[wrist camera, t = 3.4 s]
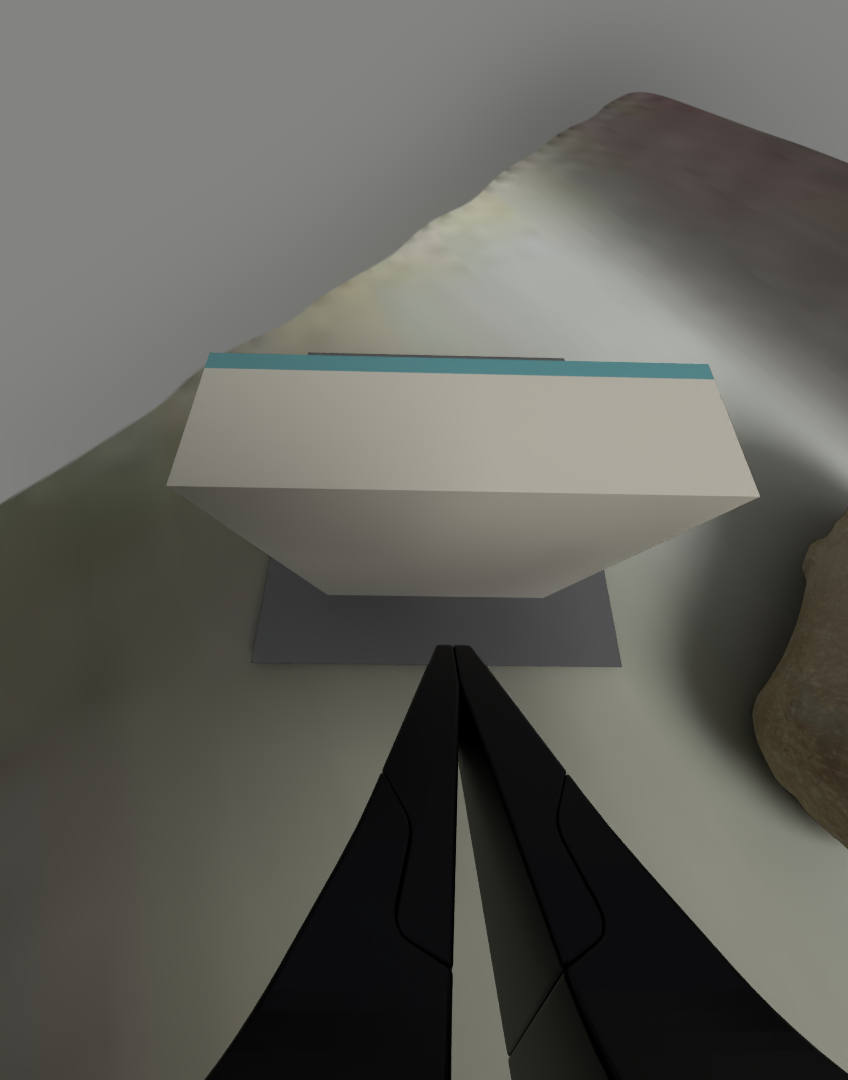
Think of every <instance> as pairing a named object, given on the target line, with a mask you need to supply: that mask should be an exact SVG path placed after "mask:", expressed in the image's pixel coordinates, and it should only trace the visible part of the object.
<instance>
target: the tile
mask: <svg viewBox="0 0 848 1080" xmlns="http://www.w3.org/2000/svg"><path fill="white" fill-rule="evenodd" d="M166 486H167V487H168V488H170V489H171V490H173V491H174V492H176V493H177V494H179V495H180V496H182V497H183V498H185V499H186V500H188V501H189V502H191V503H192V504H194V505H195V506H196V507H198V508H199V509H201V510H202V511H204V512H205V513H207V514H208V515H210V516H211V517H213V518H214V519H216V520H217V521H219V522H220V523H222V524H223V525H225V526H226V527H228V528H229V529H231V530H232V531H234V532H235V533H236V534H238V535H239V536H241V537H242V538H244V539H245V540H247V541H248V542H250V543H251V544H253V545H254V546H256V547H257V548H259V549H260V550H262V551H263V552H265V553H266V554H268V555H269V556H271V557H272V558H273V559H275V560H276V561H278V562H279V563H281V564H282V565H284V566H285V567H287V568H288V569H290V570H291V571H293V572H294V573H296V574H297V575H299V576H300V577H302V578H303V579H305V580H306V581H308V582H309V583H311V584H312V585H313V586H315V587H316V588H318V589H319V590H321V591H322V592H324V593H325V594H327V595H370V596H441V597H511V598H544V597H546V596H549V595H551V594H553V593H555V592H557V591H559V590H561V589H564V588H566V587H568V586H570V585H572V584H574V583H576V582H579V581H581V580H583V579H585V578H587V577H589V576H591V575H594V574H596V573H598V572H600V571H602V570H604V569H606V568H609V567H611V566H613V565H615V564H617V563H619V562H621V561H624V560H626V559H628V558H630V557H632V556H634V555H636V554H639V553H641V552H643V551H645V550H647V549H649V548H651V547H654V546H656V545H658V544H660V543H662V542H664V541H666V540H669V539H671V538H673V537H675V536H677V535H679V534H681V533H684V532H686V531H688V530H690V529H692V528H694V527H696V526H699V525H701V524H703V523H705V522H707V521H709V520H711V519H714V518H716V517H718V516H720V515H722V514H724V513H726V512H729V511H731V510H733V509H735V508H737V507H739V506H741V505H744V504H746V503H748V502H750V501H752V500H754V499H756V498H759V497H760V495H759V492H758V490H757V487H756V485H755V482H754V480H753V477H752V475H751V472H750V469H749V467H748V464H747V462H746V459H745V457H744V454H743V452H742V449H741V447H740V444H739V441H738V439H737V436H736V434H735V431H734V429H733V426H732V424H731V421H730V419H729V416H728V413H727V411H726V408H725V406H724V403H723V401H722V398H721V396H720V393H719V391H718V388H717V385H716V383H715V380H714V378H713V375H712V373H711V370H710V368H709V365H708V364H676V363H632V362H589V361H545V360H502V359H459V358H415V357H372V356H328V355H285V354H242V353H210V354H209V356H208V360H207V363H206V366H205V369H204V372H203V375H202V378H201V381H200V384H199V387H198V390H197V393H196V396H195V399H194V402H193V405H192V408H191V411H190V414H189V417H188V421H187V424H186V427H185V430H184V433H183V436H182V439H181V442H180V445H179V448H178V451H177V454H176V457H175V460H174V463H173V466H172V469H171V472H170V475H169V479H168V482H167V485H166Z"/></svg>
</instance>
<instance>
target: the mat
mask: <svg viewBox="0 0 848 1080" xmlns="http://www.w3.org/2000/svg"><path fill="white" fill-rule="evenodd" d="M308 355H328V356H372V357H415V358H459V359H502V360H545V361H564V359H562V358H519V357H476V356H432V355H389V354H346V353H308ZM438 644H451V645H452V646H453V647H454V645H470V646H471V647H472V648H473V649H474V651H475V652H476V653H477V655H478V656H479V657H480V659H481V660H482V661H483V662H484V664H485V665H486V666H568V667H622V665H621V659H620V654H619V649H618V643H617V638H616V633H615V627H614V622H613V617H612V611H611V606H610V601H609V595H608V590H607V585H606V579H605V574H604V570H602V571H600V572H598V573H596V574H594V575H591V576H589V577H587V578H585V579H583V580H581V581H579V582H576V583H574V584H572V585H570V586H568V587H566V588H564V589H561V590H559V591H557V592H555V593H553V594H551V595H549V596H546V597H544V598H511V597H441V596H370V595H327V594H325V593H324V592H322V591H321V590H319V589H318V588H316V587H315V586H313V585H312V584H311V583H309V582H308V581H306V580H305V579H303V578H302V577H300V576H299V575H297V574H296V573H294V572H293V571H291V570H290V569H288V568H287V567H285V566H284V565H282V564H281V563H279V562H278V561H276V560H275V559H273V558H272V557H270V562H269V568H268V573H267V579H266V584H265V589H264V595H263V600H262V606H261V611H260V617H259V622H258V627H257V633H256V638H255V644H254V649H253V655H252V660H251V663H311V664H397V665H428V663H429V661H430V659H431V656H432V654H433V652H434V649H435V647H436V646H437V645H438Z"/></svg>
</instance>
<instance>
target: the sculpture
mask: <svg viewBox="0 0 848 1080" xmlns="http://www.w3.org/2000/svg"><path fill="white" fill-rule="evenodd" d="M802 571H803V573H804V576H805V577H806V581H807V584H806V588H805V592H804V597H803V601H802V606H801V610H800V614H799V617H798V620H797V623H796V626H795V629H794V631H793V634H792V636H791V638H790V641H789V644H788V646H787V648H786V651H785V653H784V655H783V657H782V659H781V661H780V662H779V664H778V666H777V667H776V669H775V670H774V672H773V674H772V675H771V677H770V678H769V680H768V682H767V683H766V684H765V686H764V687H763V688H762V690H761V691H760V693H759V694H758V695H757V698H756V701H755V704H754V708H753V711H752V716H753V724H754V730H755V734H756V738H757V742H758V744H759V747H760V749H761V751H762V753H763V755H764V757H765V759H766V761H767V763H768V765H769V767H770V769H771V771H772V773H773V774H774V776H775V778H776V779H777V781H778V782H779V784H781V785H782V786H783V787H784V788H785V789H786V790H787V791H789V792H790V793H791V794H792V795H794V796H795V797H796V798H797V799H798V801H799V802H800V804H801V805H802V807H803V808H804V809H805V811H806V812H807V813H808V814H809V815H810V816H812V817H813V818H814V819H815V820H816V821H817V822H819V823H820V824H821V826H822V827H823V828H825V829H826V830H827V831H828V832H829V833H830V834H831V835H832V836H833V837H834V838H836V839H837V840H838V841H840V842H841V843H842V844H843V845H844V846H845V847H846V848H847V849H848V509H847V511H846V512H845V514H844V516H842V517H841V518H840V519H839V520H838V521H837V522H836V523H835V525H834V527H833V528H832V530H831V531H830V533H829V534H828V535H827V536H826V537H825V538H822V539H819V540H816V541H814V542H813V543H812V544H811V545H810V546H809V548H808V550H807V553H806V556H805V559H804V561H803V566H802Z"/></svg>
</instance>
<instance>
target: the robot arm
mask: <svg viewBox="0 0 848 1080" xmlns="http://www.w3.org/2000/svg"><path fill="white" fill-rule="evenodd" d="M458 762H459V768H460V774H461V780H462V786H463V792H464V798H465V804H466V810H467V816H468V822H469V828H470V834H471V840H472V846H473V852H474V858H475V864H476V870H477V876H478V882H479V888H480V894H481V900H482V906H483V912H484V918H485V924H486V930H487V936H488V942H489V947H490V953H491V959H492V965H493V971H494V977H495V983H496V989H497V995H498V1001H499V1007H500V1013H501V1019H502V1025H503V1031H504V1037H505V1043H506V1049H507V1054H508V1055H509V1056H510V1057H509V1060H508V1061H509V1068H510V1074H511V1079H512V1080H848V1073H846V1072H845V1071H844V1070H843V1069H841V1068H840V1067H839V1066H838V1065H836V1064H835V1063H834V1062H833V1061H831V1060H830V1059H829V1058H828V1057H826V1056H825V1055H824V1054H823V1053H822V1052H820V1051H819V1050H818V1049H817V1048H816V1047H815V1046H813V1045H812V1044H811V1043H810V1042H809V1041H808V1040H807V1039H805V1038H804V1037H803V1036H802V1035H801V1034H800V1033H798V1032H797V1031H796V1030H795V1029H794V1028H793V1027H792V1026H791V1025H790V1024H789V1023H788V1022H787V1021H786V1020H785V1019H783V1018H782V1017H781V1016H780V1015H779V1014H778V1013H777V1012H776V1011H775V1010H774V1009H773V1008H772V1007H771V1006H770V1005H769V1004H768V1003H767V1002H766V1001H765V1000H764V999H763V998H762V997H761V996H760V995H759V994H758V993H757V992H756V991H755V990H754V989H753V988H752V987H751V986H750V985H749V984H748V982H747V981H746V980H745V979H744V978H743V977H742V976H741V975H740V974H739V973H738V972H737V970H736V969H735V968H734V967H733V966H732V965H731V964H730V963H729V962H728V960H727V959H726V958H725V957H724V956H723V955H722V954H721V953H720V951H719V950H718V949H717V948H716V947H715V946H714V945H713V944H712V942H711V941H710V940H709V939H708V938H707V937H706V936H705V935H704V933H703V932H702V931H701V930H700V929H699V928H698V927H697V926H696V924H695V923H694V922H693V921H692V920H691V919H690V918H689V917H688V915H687V914H686V913H685V912H684V911H683V910H682V909H681V908H680V906H679V905H678V904H677V903H676V902H675V901H674V900H673V899H672V897H671V896H670V895H669V894H668V893H667V892H666V891H665V890H664V888H663V887H662V886H661V885H660V884H659V883H658V882H657V881H656V879H655V878H654V877H653V876H652V875H651V874H650V873H649V872H648V870H647V869H646V868H645V867H644V866H643V865H642V864H641V863H640V861H639V860H638V859H637V858H636V857H635V856H634V854H633V853H632V852H631V851H630V850H629V849H628V848H627V846H626V845H625V844H624V843H623V842H622V841H621V839H620V838H619V837H618V836H617V835H616V834H615V832H614V831H613V830H612V829H611V828H610V827H609V825H608V824H607V823H606V822H605V820H604V819H603V818H602V817H601V815H600V814H599V813H598V811H597V810H596V809H595V808H594V806H593V805H592V804H591V803H590V801H589V800H588V799H587V798H586V796H585V795H584V794H583V793H582V791H581V790H580V789H579V787H578V786H577V785H576V783H575V782H574V781H573V779H572V778H571V777H570V775H566V770H565V769H564V768H563V766H562V765H561V764H560V762H559V761H558V760H557V758H556V757H555V756H554V754H553V753H552V752H551V751H550V749H549V748H548V747H547V745H546V744H545V743H544V741H543V740H542V739H541V737H540V736H539V735H538V733H537V732H536V731H535V729H534V728H533V727H532V726H531V724H530V723H529V722H528V720H527V719H526V718H525V716H524V715H523V714H522V712H521V711H520V710H519V708H518V707H517V706H516V705H515V703H514V702H513V701H512V699H511V698H510V697H509V695H508V694H507V693H506V691H505V690H504V689H503V687H502V686H501V685H500V683H499V682H498V681H497V680H496V678H495V677H494V676H493V674H492V673H491V672H490V670H489V669H488V668H487V666H486V665H485V664H484V662H483V661H482V660H481V659H480V657H479V656H478V655H477V653H476V652H475V651H474V649H473V648H472V647H471V646H470V645H454V647H453V646H452V645H451V644H438V645H437V646H436V647H435V649H434V652H433V654H432V656H431V659H430V661H429V663H428V665H427V668H426V670H425V672H424V675H423V677H422V679H421V682H420V684H419V686H418V689H417V691H416V693H415V696H414V698H413V700H412V703H411V705H410V707H409V710H408V712H407V714H406V716H405V719H404V721H403V723H402V726H401V728H400V730H399V733H398V735H397V737H396V740H395V742H394V744H393V747H392V749H391V751H390V754H389V756H388V758H387V760H386V763H385V765H384V767H383V770H382V772H383V773H381V774H380V776H379V778H378V781H377V783H376V785H375V788H374V790H373V792H372V795H371V797H370V799H369V801H368V803H367V805H366V807H365V810H364V812H363V814H362V816H361V818H360V820H359V822H358V825H357V827H356V828H355V830H354V832H353V834H352V836H351V838H350V840H349V842H348V844H347V846H346V847H345V849H344V851H343V853H342V855H341V857H340V859H339V861H338V863H337V864H336V866H335V868H334V870H333V871H332V873H331V875H330V877H329V879H328V880H327V882H326V884H325V886H324V887H323V889H322V891H321V893H320V894H319V896H318V898H317V900H316V902H315V903H314V905H313V907H312V909H311V910H310V912H309V914H308V916H307V918H306V919H305V921H304V923H303V925H302V926H301V928H300V930H299V932H298V934H297V935H296V937H295V939H294V941H293V942H292V944H291V946H290V948H289V949H288V951H287V953H286V955H285V957H284V958H283V960H282V962H281V964H280V965H279V967H278V969H277V971H276V972H275V974H274V976H273V977H272V979H271V981H270V983H269V984H268V986H267V988H266V989H265V991H264V993H263V994H262V996H261V997H260V999H259V1001H258V1002H257V1004H256V1006H255V1007H254V1009H253V1011H252V1012H251V1014H250V1015H249V1017H248V1018H247V1020H246V1021H245V1023H244V1024H243V1026H242V1028H241V1029H240V1031H239V1032H238V1034H237V1035H236V1037H235V1038H234V1040H233V1041H232V1043H231V1044H230V1045H229V1047H228V1048H227V1050H226V1051H225V1053H224V1054H223V1056H222V1057H221V1058H220V1060H219V1061H218V1062H217V1064H216V1065H215V1066H214V1068H213V1069H212V1070H211V1072H210V1073H209V1074H208V1076H207V1077H206V1078H205V1080H451V1044H452V985H453V974H452V967H453V945H454V906H455V866H456V827H457V787H458Z"/></svg>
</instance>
